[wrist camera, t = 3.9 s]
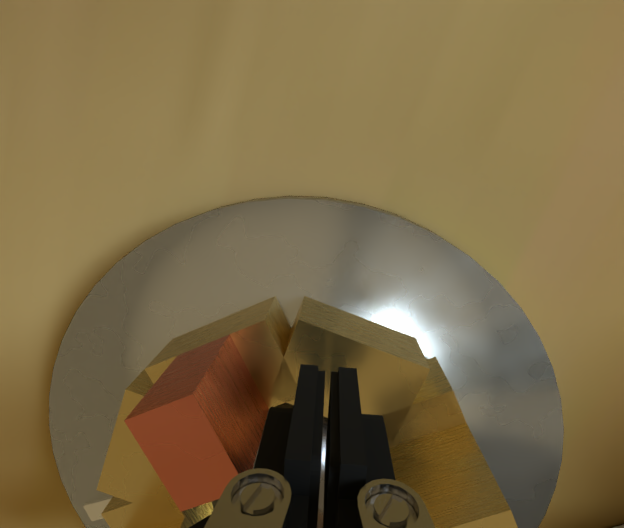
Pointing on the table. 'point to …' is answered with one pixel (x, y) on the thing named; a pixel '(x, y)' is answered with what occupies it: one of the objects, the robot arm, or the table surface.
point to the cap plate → (290, 292)
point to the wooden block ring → (277, 390)
